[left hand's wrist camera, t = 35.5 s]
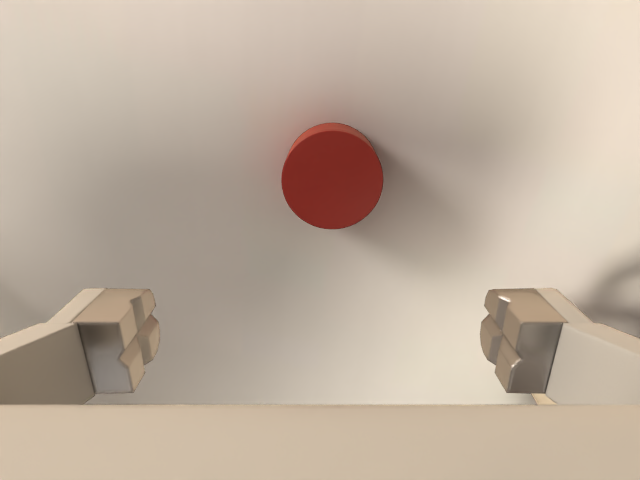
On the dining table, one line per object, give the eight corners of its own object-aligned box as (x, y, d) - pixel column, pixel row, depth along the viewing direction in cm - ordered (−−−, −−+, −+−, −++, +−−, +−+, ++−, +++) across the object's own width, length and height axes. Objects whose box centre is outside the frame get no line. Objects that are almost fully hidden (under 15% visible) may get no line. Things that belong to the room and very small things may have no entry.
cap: (267, 160, 21) (260, 172, 19) (341, 102, 20) (343, 108, 18) (323, 229, 23) (322, 247, 20) (395, 178, 21) (402, 191, 19)
